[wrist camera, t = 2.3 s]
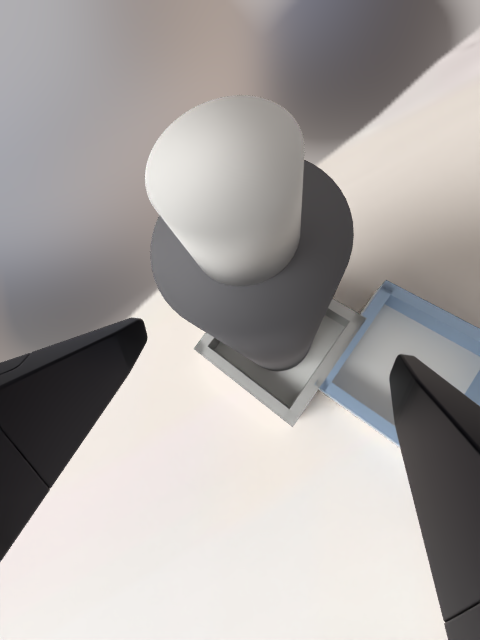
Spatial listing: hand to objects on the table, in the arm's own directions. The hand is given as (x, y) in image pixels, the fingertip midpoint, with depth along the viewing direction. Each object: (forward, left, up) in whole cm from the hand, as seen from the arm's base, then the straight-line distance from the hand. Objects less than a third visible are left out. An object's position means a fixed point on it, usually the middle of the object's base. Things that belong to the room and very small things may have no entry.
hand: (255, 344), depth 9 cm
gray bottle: (+2, +1, -9) cm, 9 cm away
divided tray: (+2, -3, -10) cm, 10 cm away
